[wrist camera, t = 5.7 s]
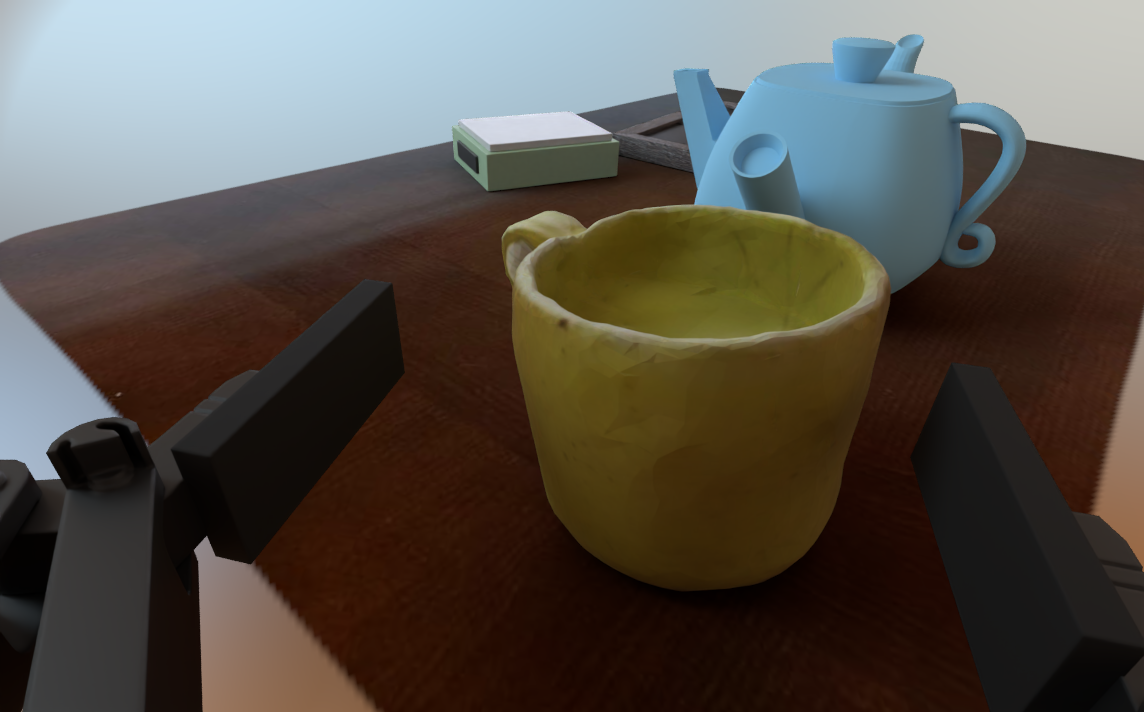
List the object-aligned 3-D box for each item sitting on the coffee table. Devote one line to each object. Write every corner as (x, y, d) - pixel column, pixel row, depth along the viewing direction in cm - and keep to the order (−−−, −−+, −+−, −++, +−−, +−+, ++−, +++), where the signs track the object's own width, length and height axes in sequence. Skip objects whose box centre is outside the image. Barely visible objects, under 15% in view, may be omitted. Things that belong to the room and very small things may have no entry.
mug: (983, 490, 18) (977, 151, 13) (700, 727, 15) (556, 420, 10) (709, 349, 28) (646, 129, 23) (512, 477, 25) (392, 261, 20)
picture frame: (765, 189, 45) (844, 140, 57) (771, 161, 44) (850, 117, 56) (611, 153, 52) (711, 115, 64) (612, 127, 51) (714, 94, 63)
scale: (485, 192, 43) (483, 147, 41) (451, 159, 49) (448, 118, 47) (617, 176, 47) (620, 134, 45) (571, 147, 53) (572, 109, 51)
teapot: (649, 219, 40) (670, 14, 33) (861, 221, 41) (921, 22, 34) (705, 354, 27) (756, 65, 21) (1012, 353, 28) (1151, 75, 22)
